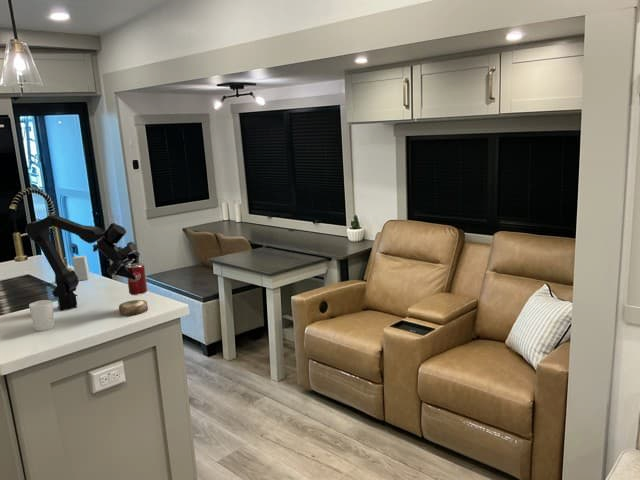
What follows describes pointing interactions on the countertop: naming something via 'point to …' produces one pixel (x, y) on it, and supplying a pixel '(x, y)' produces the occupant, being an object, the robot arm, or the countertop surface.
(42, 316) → the white cup
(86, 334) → the countertop surface
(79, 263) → the skincare box
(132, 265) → the soda can
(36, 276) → the countertop surface
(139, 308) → the pedestal
